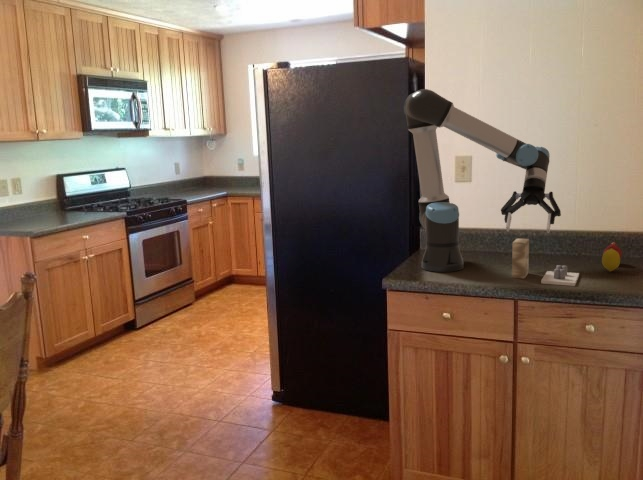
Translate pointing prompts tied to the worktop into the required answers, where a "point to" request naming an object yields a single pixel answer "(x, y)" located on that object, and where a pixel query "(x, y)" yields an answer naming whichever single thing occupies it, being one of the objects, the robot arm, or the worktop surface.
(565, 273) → the peg rest
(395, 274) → the worktop surface
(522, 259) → the tan wooden block
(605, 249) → the onion
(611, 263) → the lemon
